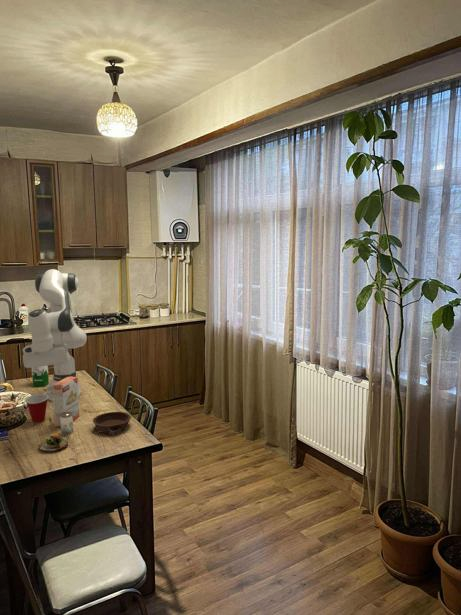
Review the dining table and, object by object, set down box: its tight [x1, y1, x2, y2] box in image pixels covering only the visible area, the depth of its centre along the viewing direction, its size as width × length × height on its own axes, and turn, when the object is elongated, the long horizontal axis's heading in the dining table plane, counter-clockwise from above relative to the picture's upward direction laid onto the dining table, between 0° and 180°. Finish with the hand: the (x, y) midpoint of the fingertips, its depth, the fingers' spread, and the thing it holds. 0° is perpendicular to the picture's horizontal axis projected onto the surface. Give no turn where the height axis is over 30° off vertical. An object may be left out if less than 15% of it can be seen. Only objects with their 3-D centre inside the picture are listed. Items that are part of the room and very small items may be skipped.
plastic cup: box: [24, 393, 49, 424], centre depth 226 cm, size 11×11×12 cm
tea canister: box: [60, 412, 74, 436], centre depth 212 cm, size 6×6×9 cm
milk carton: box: [31, 365, 50, 388], centre depth 283 cm, size 9×9×20 cm
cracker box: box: [52, 376, 80, 428], centre depth 224 cm, size 14×6×21 cm, turn 168°
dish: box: [92, 411, 132, 435], centre depth 217 cm, size 18×22×5 cm
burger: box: [38, 432, 69, 452], centre depth 197 cm, size 12×12×8 cm
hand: (50, 373), depth 211 cm, fingers open, 8 cm apart
